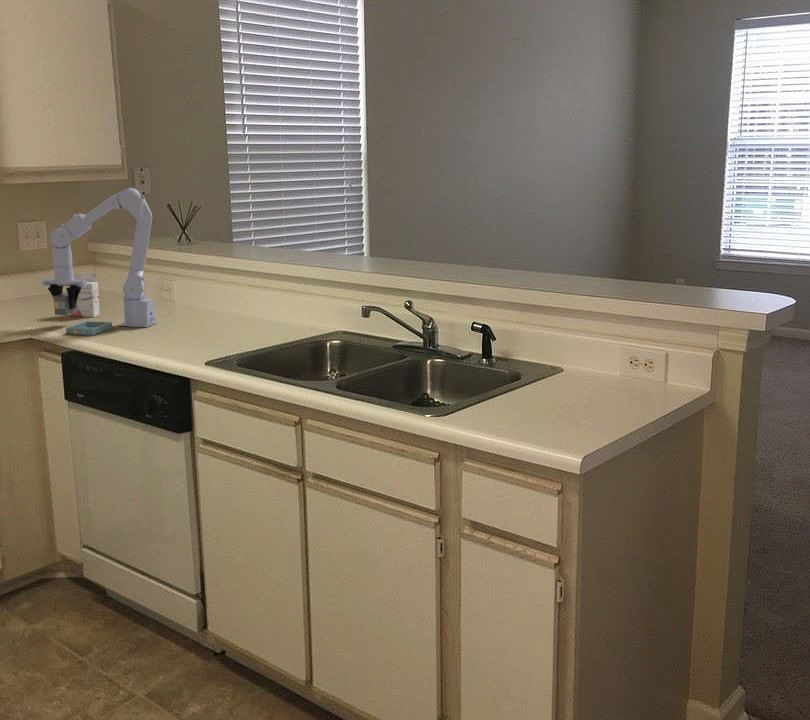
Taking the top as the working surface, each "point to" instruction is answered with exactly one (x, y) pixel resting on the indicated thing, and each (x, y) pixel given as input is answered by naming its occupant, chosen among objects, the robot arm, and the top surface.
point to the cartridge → (63, 305)
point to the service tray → (89, 328)
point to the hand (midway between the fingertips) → (66, 308)
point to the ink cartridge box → (87, 296)
